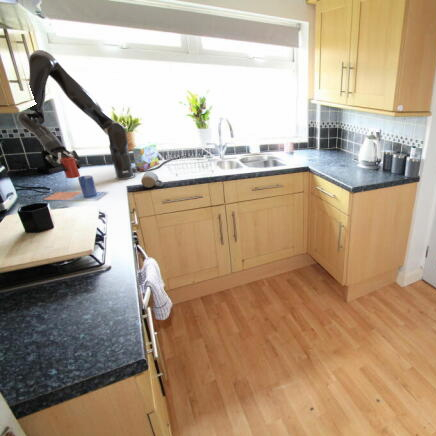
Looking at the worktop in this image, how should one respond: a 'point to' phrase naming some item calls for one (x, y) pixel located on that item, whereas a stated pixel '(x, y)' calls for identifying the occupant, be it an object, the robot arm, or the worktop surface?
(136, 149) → the snack box
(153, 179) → the ceramic mug
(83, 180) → the blue upright cylinder
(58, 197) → the sorting board
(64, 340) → the worktop surface
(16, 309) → the worktop surface
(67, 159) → the red upright cylinder
